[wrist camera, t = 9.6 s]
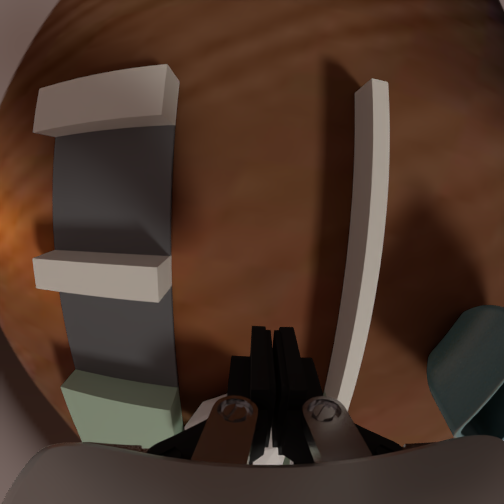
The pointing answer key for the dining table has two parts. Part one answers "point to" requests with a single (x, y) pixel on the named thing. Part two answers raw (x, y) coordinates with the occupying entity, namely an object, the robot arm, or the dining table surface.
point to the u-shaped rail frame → (163, 247)
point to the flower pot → (471, 373)
